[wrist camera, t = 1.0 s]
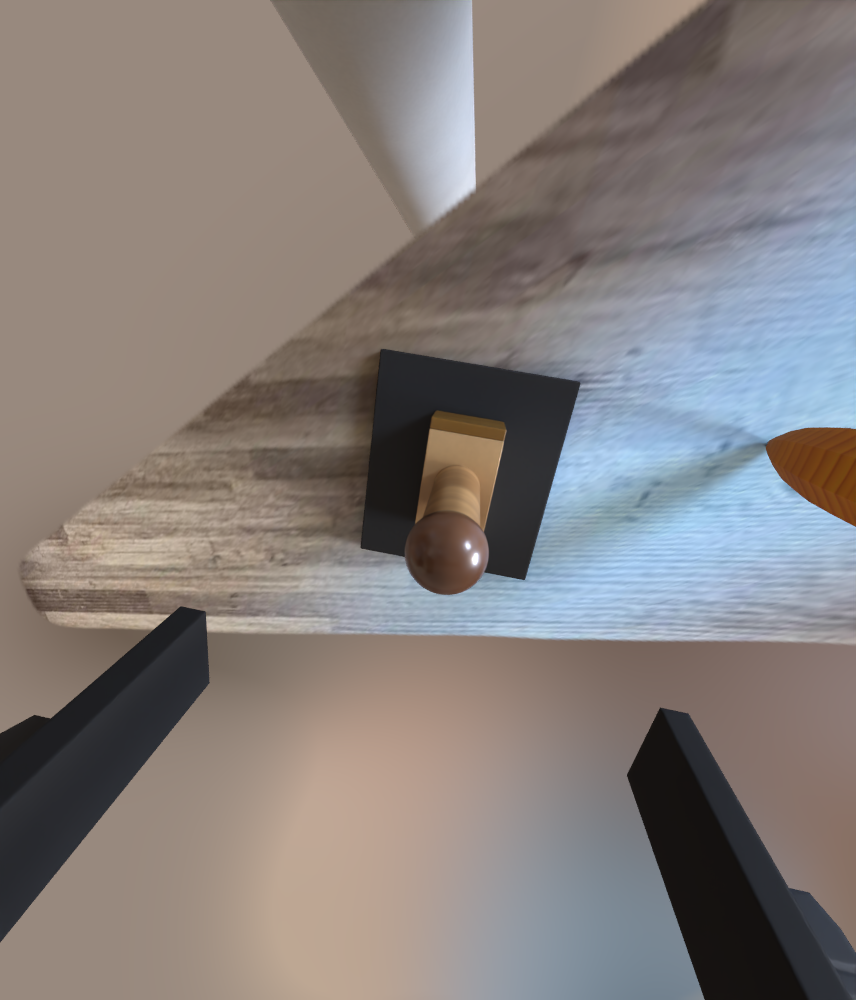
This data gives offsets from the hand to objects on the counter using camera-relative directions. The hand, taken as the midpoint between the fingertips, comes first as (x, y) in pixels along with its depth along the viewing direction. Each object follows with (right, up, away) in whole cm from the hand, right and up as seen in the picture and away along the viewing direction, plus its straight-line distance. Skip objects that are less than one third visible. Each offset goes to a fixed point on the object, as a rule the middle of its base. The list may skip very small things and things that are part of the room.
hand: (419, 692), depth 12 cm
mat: (+3, +8, +20) cm, 22 cm away
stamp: (+3, +8, +19) cm, 21 cm away
